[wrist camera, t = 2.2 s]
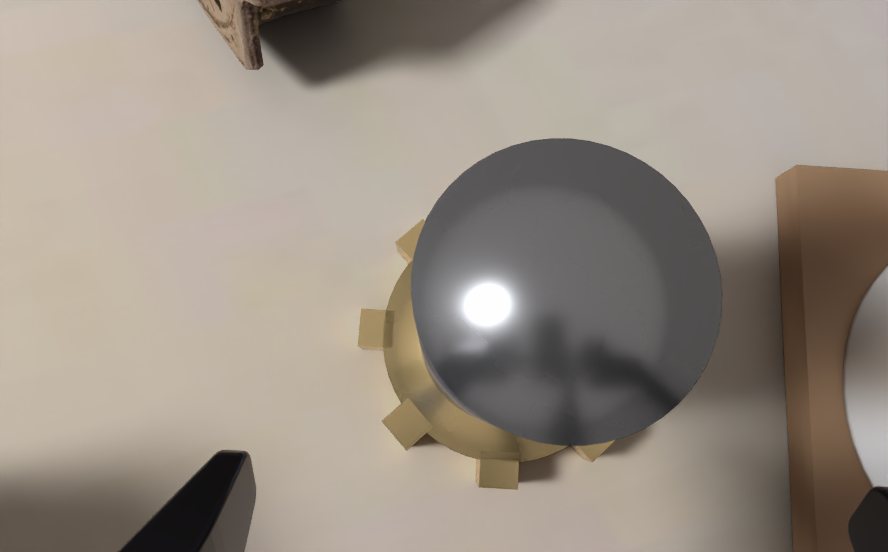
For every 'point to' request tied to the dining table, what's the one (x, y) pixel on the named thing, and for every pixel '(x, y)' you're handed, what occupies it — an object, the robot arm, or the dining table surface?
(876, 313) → the gear board
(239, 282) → the dining table surface
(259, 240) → the dining table surface
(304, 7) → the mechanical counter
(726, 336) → the dining table surface
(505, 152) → the loose gear
